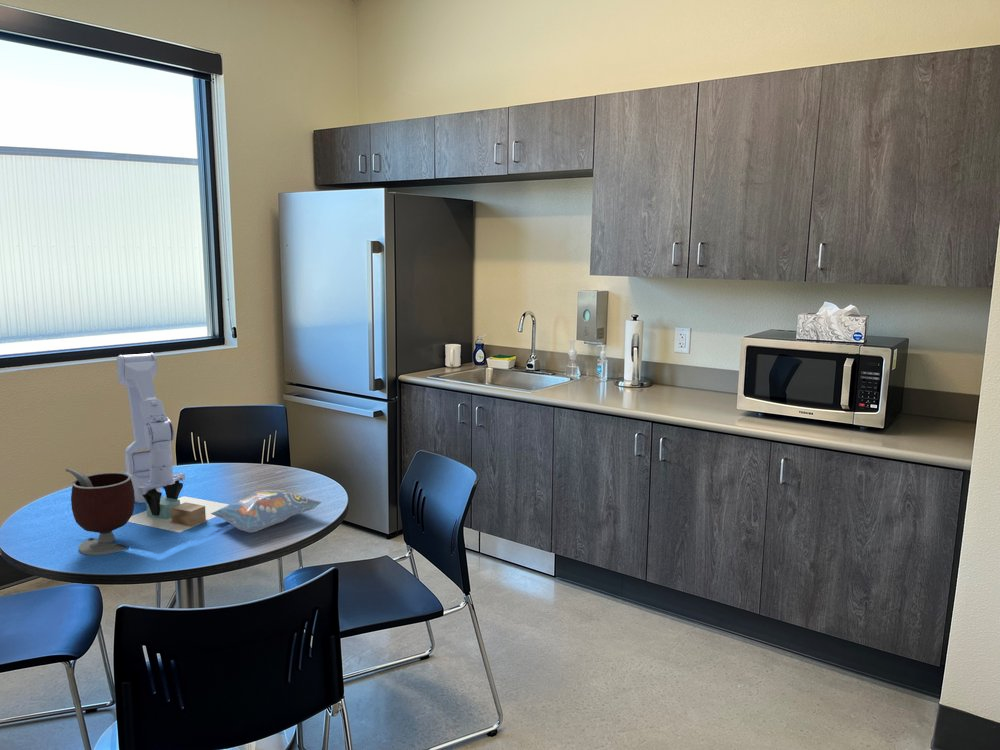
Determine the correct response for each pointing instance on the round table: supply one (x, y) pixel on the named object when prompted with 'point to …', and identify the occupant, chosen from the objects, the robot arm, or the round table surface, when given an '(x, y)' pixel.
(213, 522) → the round table surface
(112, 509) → the mate gourd
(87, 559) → the round table surface
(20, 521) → the round table surface
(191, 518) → the walnut block
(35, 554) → the round table surface
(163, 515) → the teal block
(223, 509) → the packet
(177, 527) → the baseplate
